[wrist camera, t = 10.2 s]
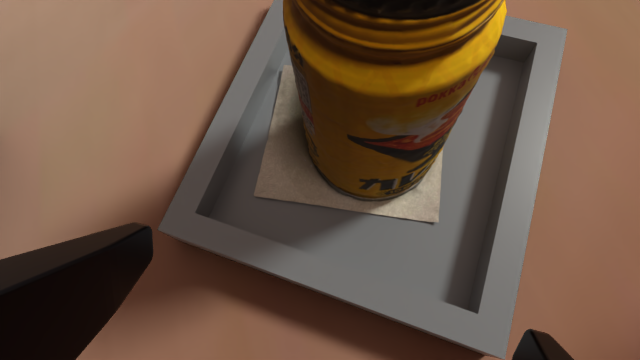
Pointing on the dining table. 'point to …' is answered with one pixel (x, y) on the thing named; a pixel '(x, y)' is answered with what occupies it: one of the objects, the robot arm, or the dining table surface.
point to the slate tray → (379, 230)
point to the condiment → (374, 100)
